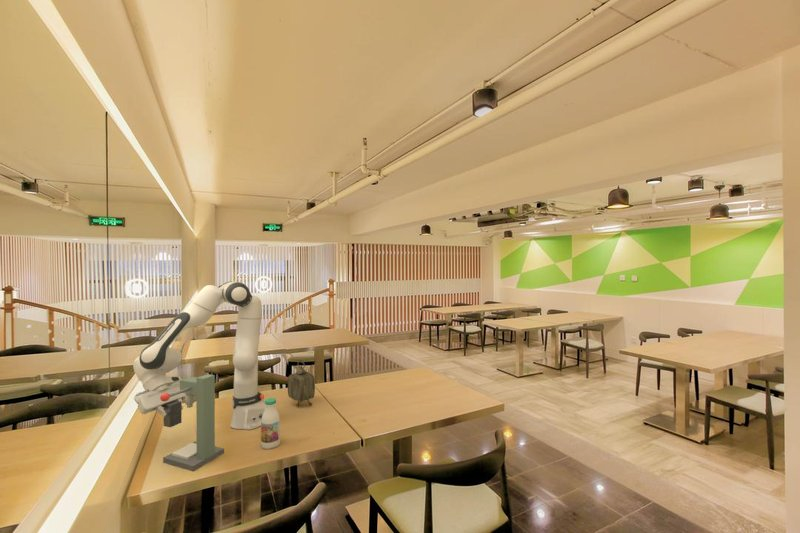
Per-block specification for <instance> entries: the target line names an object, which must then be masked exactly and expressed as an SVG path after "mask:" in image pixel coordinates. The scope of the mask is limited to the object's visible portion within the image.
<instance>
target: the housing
mask: <svg viewBox="0 0 800 533" xmlns="http://www.w3.org/2000/svg"><path fill="white" fill-rule="evenodd" d="M182 403H183V401H182V402H181V401H176V400H175V401H172V402H169V403H166V404H164V407H163V410H164V411H166V410H167V411H168V415H167V416H165V417H163V427H166V428H173V427H175V426H177V425H179V424H182V418H183V417H182V411H183V409H182V406H183V405H182Z"/></svg>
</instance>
